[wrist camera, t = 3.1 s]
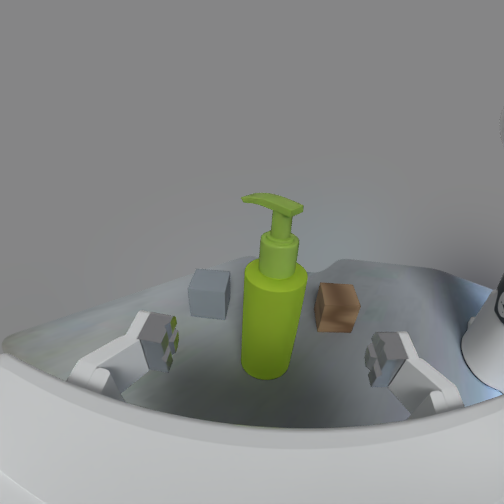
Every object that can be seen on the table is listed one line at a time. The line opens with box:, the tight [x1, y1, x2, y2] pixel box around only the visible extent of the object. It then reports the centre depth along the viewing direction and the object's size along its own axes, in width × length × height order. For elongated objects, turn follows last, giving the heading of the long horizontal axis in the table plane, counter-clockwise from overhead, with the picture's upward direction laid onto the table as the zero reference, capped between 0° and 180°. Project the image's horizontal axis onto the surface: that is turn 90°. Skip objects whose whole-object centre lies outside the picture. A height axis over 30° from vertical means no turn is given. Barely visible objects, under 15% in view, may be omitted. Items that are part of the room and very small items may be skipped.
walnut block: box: [314, 283, 361, 333], centre depth 38 cm, size 5×5×5 cm
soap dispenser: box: [241, 193, 308, 380], centre depth 28 cm, size 6×7×20 cm
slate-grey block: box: [188, 269, 230, 320], centre depth 40 cm, size 5×5×5 cm
